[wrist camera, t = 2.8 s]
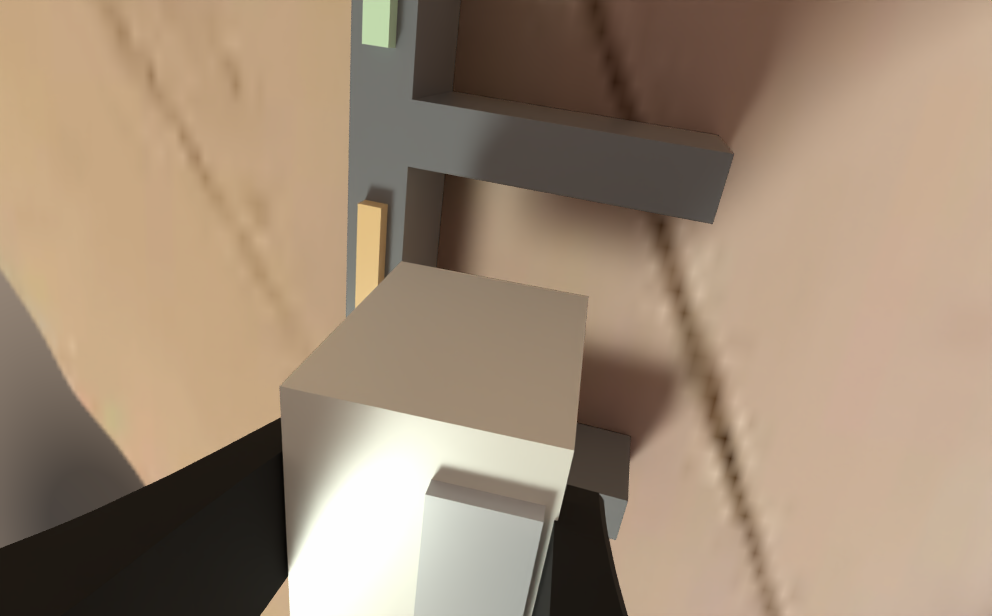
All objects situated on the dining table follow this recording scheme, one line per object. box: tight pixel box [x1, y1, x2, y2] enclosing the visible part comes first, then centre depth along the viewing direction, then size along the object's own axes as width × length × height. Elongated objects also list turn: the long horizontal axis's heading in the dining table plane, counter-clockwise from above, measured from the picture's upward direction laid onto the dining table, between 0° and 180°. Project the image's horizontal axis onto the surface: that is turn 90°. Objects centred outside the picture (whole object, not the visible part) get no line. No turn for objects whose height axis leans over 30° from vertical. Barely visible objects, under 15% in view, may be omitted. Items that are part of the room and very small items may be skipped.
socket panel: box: [346, 0, 734, 540], centre depth 14 cm, size 8×20×3 cm, turn 172°
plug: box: [280, 261, 588, 616], centre depth 11 cm, size 4×5×5 cm
